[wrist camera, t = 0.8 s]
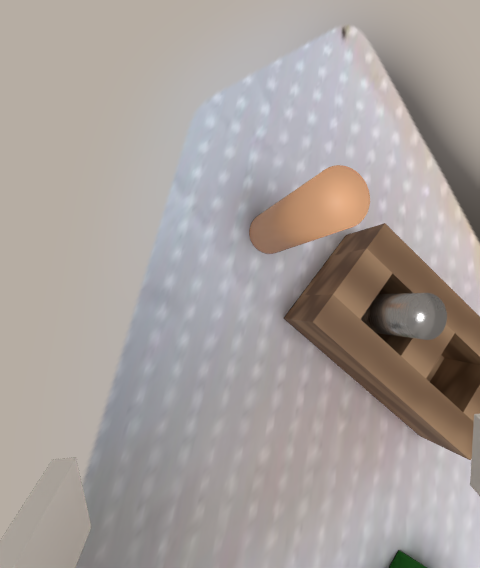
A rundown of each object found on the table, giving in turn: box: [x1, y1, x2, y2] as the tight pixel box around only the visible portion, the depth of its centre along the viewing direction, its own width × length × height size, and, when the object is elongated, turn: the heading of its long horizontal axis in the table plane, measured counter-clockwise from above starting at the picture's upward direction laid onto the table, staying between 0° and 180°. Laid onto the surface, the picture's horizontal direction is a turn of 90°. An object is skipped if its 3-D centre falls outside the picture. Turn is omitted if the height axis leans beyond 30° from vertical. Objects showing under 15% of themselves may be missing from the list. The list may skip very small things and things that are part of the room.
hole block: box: [284, 223, 480, 460], centre depth 41 cm, size 12×22×7 cm, turn 51°
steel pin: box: [361, 293, 447, 340], centre depth 37 cm, size 4×4×10 cm
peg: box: [249, 165, 370, 254], centre depth 34 cm, size 4×4×15 cm
